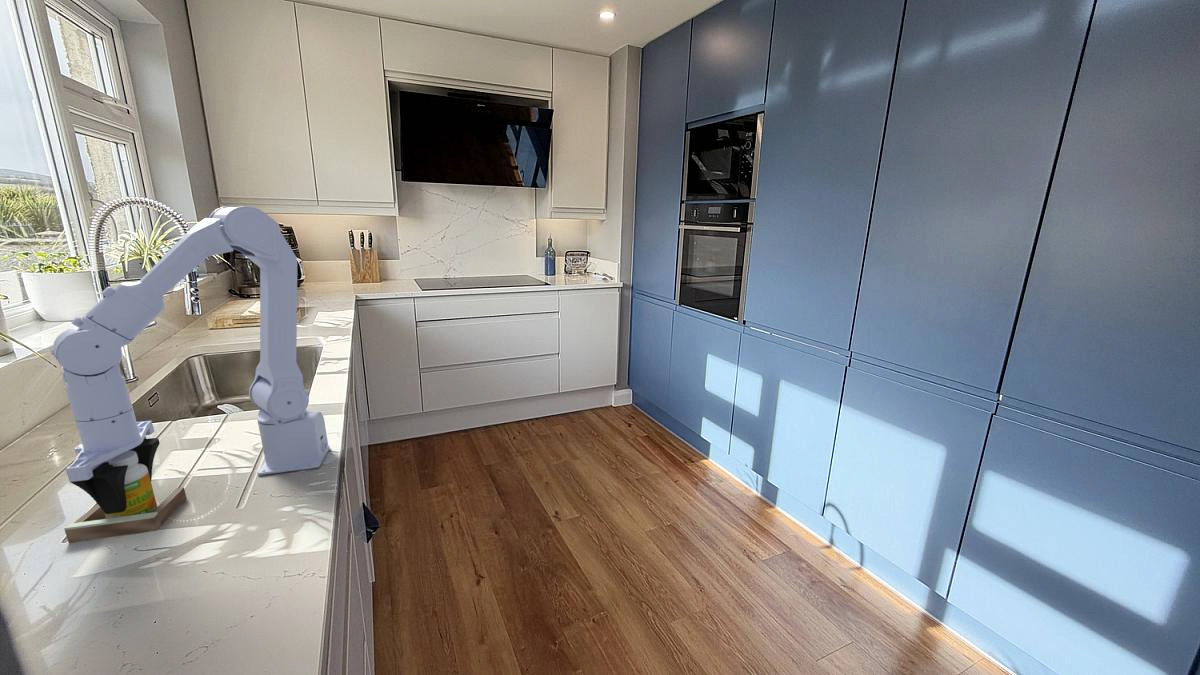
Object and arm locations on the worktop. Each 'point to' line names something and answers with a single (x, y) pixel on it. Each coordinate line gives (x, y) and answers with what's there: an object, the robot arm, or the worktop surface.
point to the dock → (122, 521)
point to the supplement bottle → (135, 486)
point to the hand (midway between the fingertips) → (129, 499)
